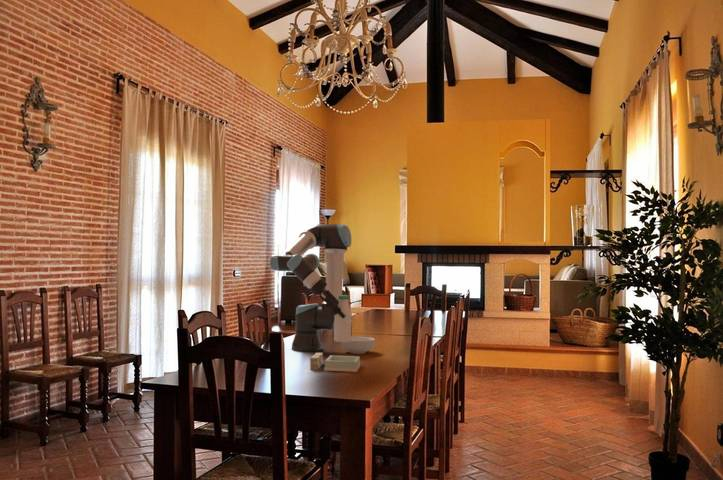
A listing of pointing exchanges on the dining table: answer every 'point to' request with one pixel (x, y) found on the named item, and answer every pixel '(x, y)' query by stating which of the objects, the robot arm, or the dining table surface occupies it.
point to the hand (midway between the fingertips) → (351, 321)
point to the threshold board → (316, 361)
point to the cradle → (342, 363)
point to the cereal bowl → (359, 345)
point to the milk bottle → (340, 327)
